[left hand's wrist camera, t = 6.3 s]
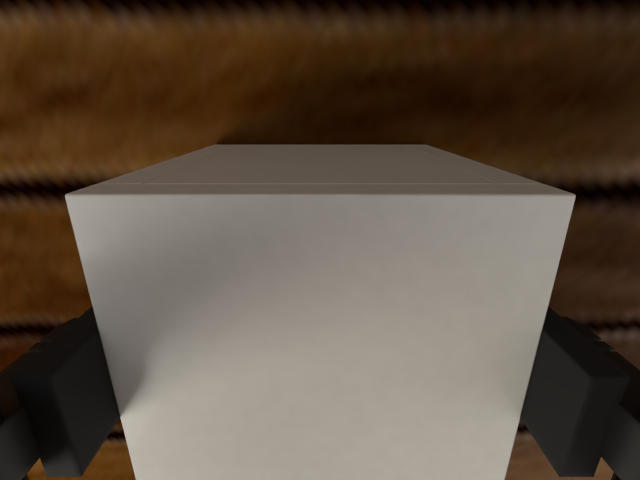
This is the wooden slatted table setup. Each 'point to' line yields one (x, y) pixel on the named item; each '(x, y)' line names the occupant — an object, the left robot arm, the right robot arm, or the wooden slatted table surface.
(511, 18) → the wooden slatted table surface
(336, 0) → the wooden slatted table surface
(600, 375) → the left robot arm
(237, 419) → the cabinet
